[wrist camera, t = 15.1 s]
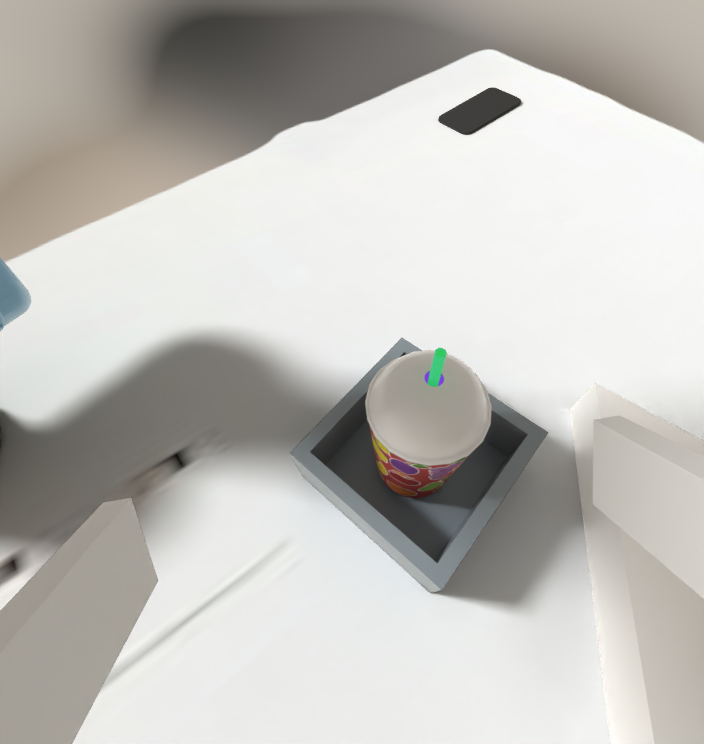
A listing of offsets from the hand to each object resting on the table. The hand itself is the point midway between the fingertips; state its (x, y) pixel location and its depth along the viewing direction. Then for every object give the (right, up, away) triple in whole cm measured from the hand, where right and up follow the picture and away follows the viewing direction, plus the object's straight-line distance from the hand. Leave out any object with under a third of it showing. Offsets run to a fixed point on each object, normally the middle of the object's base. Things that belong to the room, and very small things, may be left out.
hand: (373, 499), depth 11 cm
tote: (+5, -6, +28) cm, 29 cm away
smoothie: (+5, -6, +28) cm, 28 cm away
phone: (+22, +50, +61) cm, 82 cm away
